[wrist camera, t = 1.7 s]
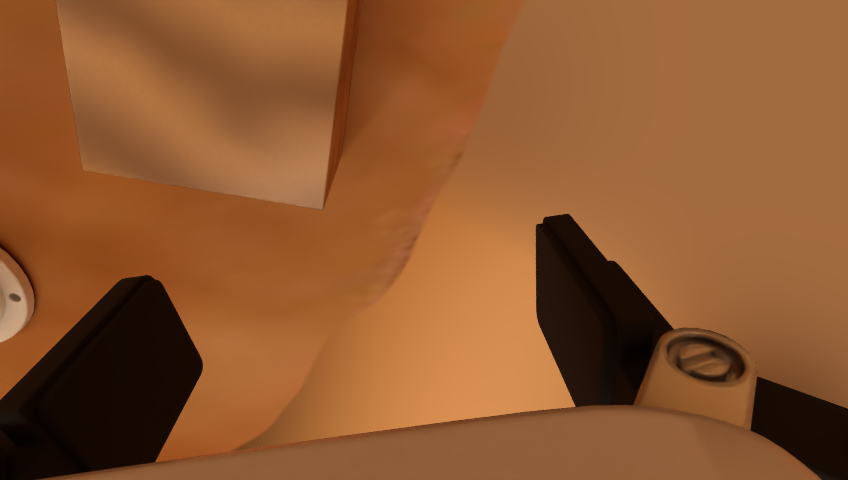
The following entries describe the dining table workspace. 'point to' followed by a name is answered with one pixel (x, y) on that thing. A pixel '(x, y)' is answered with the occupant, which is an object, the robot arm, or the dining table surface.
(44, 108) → the dining table surface
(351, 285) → the dining table surface
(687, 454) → the robot arm
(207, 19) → the cabinet
